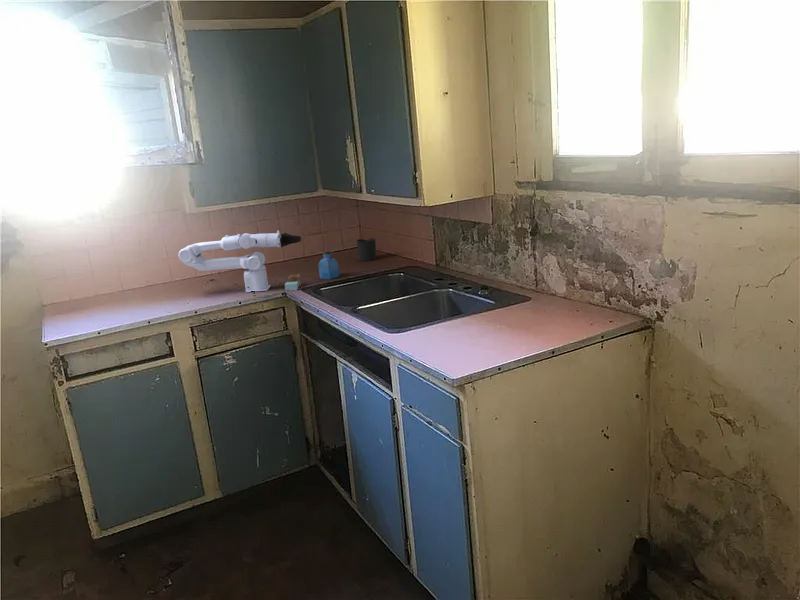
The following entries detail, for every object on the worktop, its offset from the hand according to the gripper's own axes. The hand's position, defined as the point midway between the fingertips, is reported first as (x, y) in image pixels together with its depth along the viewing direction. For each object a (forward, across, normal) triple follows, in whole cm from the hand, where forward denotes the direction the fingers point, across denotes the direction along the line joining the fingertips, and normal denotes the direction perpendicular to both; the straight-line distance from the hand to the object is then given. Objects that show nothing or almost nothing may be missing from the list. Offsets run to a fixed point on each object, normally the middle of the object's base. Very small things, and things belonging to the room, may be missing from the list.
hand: (299, 239), depth 277 cm
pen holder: (+27, +48, +13) cm, 56 cm away
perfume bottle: (+11, +15, +18) cm, 26 cm away
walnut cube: (-4, +4, +20) cm, 21 cm away
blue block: (-4, -2, +21) cm, 22 cm away
